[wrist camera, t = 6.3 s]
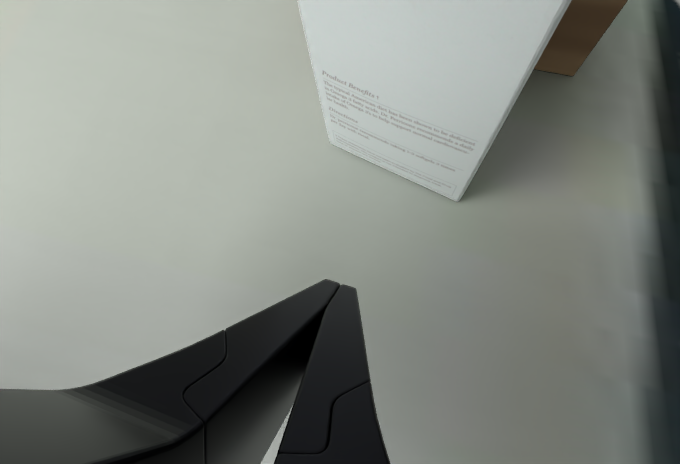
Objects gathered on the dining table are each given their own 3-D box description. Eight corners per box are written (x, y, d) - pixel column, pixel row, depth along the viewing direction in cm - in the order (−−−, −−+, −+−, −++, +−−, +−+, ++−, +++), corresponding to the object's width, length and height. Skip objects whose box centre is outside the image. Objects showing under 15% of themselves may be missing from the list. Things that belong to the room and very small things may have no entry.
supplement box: (521, 90, 18) (793, -397, 6) (457, 207, 17) (665, -157, 5) (392, 40, 20) (419, -413, 8) (323, 143, 18) (229, -243, 7)
